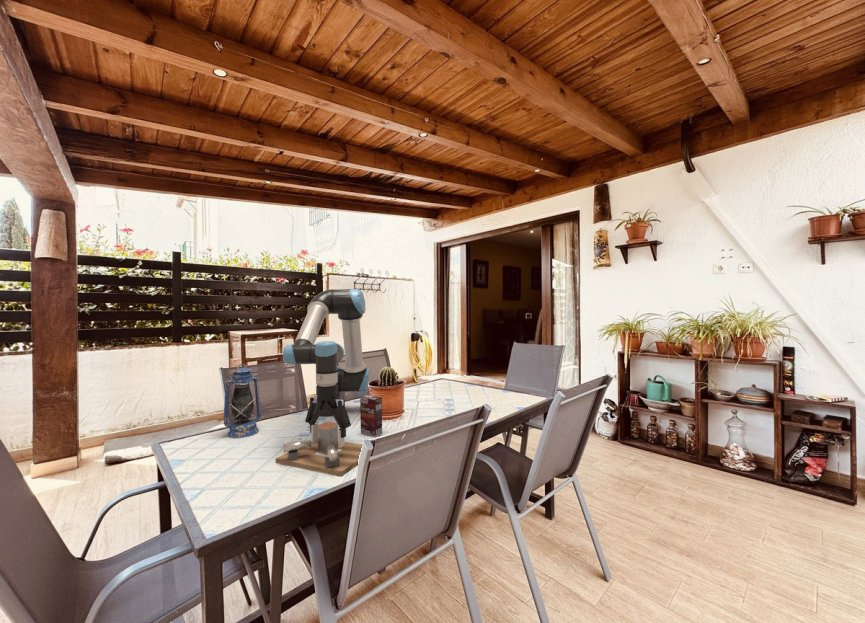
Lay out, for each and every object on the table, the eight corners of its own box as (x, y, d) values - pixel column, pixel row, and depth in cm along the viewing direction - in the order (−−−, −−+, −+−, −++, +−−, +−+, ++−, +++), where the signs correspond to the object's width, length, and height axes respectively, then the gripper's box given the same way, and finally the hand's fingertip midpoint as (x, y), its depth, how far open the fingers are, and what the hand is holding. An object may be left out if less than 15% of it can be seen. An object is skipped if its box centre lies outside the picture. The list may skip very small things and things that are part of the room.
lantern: (230, 441, 152) (228, 368, 151) (218, 434, 160) (216, 365, 159) (267, 431, 164) (265, 363, 163) (255, 425, 172) (253, 360, 171)
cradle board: (317, 441, 151) (317, 436, 151) (377, 450, 140) (377, 446, 140) (275, 462, 131) (275, 457, 131) (341, 476, 120) (341, 470, 120)
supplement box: (360, 434, 159) (359, 397, 159) (367, 430, 163) (367, 394, 163) (375, 437, 154) (374, 399, 154) (383, 434, 158) (382, 396, 158)
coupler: (327, 448, 139) (326, 421, 139) (338, 449, 137) (337, 422, 137) (318, 453, 134) (317, 425, 134) (329, 455, 132) (329, 427, 132)
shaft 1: (310, 453, 135) (310, 438, 135) (311, 457, 131) (311, 442, 131) (283, 457, 132) (283, 442, 132) (283, 462, 128) (283, 446, 128)
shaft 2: (323, 459, 129) (323, 444, 129) (336, 457, 131) (336, 442, 131) (326, 470, 121) (326, 454, 121) (340, 468, 122) (340, 451, 122)
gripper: (294, 384, 136) (295, 443, 137) (347, 389, 127) (348, 452, 127) (308, 380, 143) (309, 436, 144) (360, 384, 134) (361, 444, 134)
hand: (328, 444), depth 135 cm, fingers open, 11 cm apart
